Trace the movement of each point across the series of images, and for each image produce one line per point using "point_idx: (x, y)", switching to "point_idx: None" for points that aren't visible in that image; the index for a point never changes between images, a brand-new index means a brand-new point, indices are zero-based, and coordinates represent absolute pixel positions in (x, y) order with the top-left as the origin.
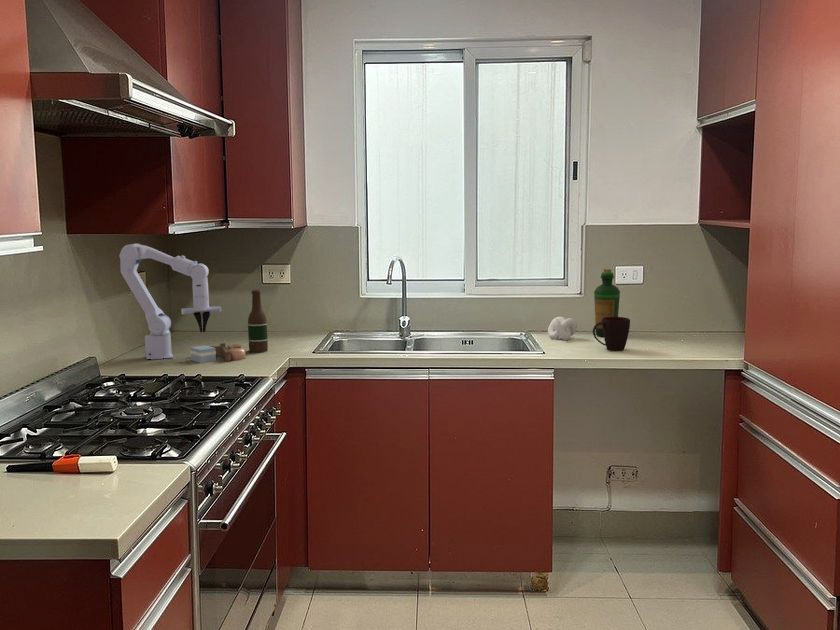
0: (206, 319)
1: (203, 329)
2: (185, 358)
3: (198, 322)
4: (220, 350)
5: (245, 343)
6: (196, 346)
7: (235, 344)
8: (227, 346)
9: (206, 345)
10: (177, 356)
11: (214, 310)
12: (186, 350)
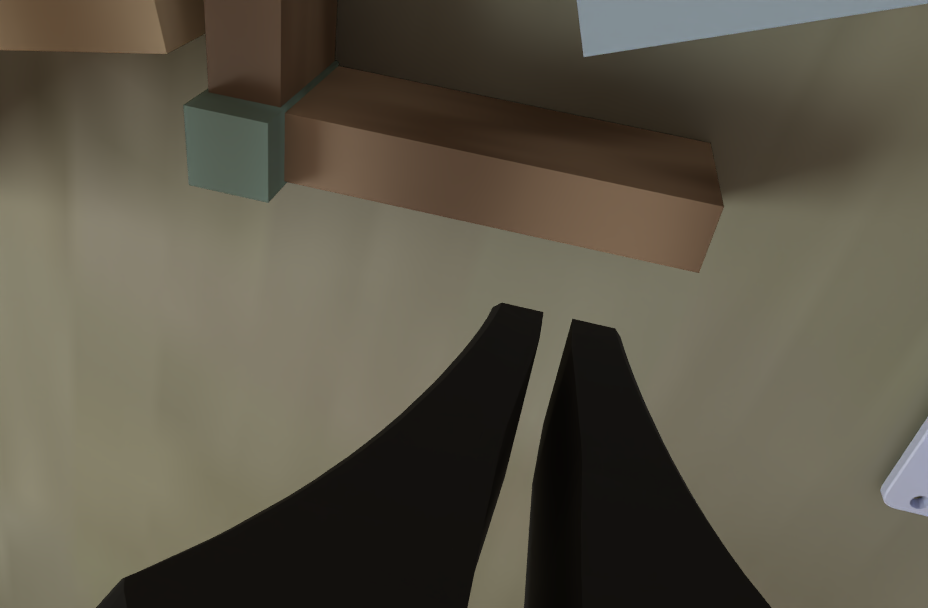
0: (354, 517)
1: (537, 344)
2: (886, 150)
3: (705, 530)
4: (317, 90)
5: (27, 525)
6: (817, 9)
7: (25, 30)
8: (176, 38)
9: (578, 5)
10: (886, 358)
11: None
12: None
